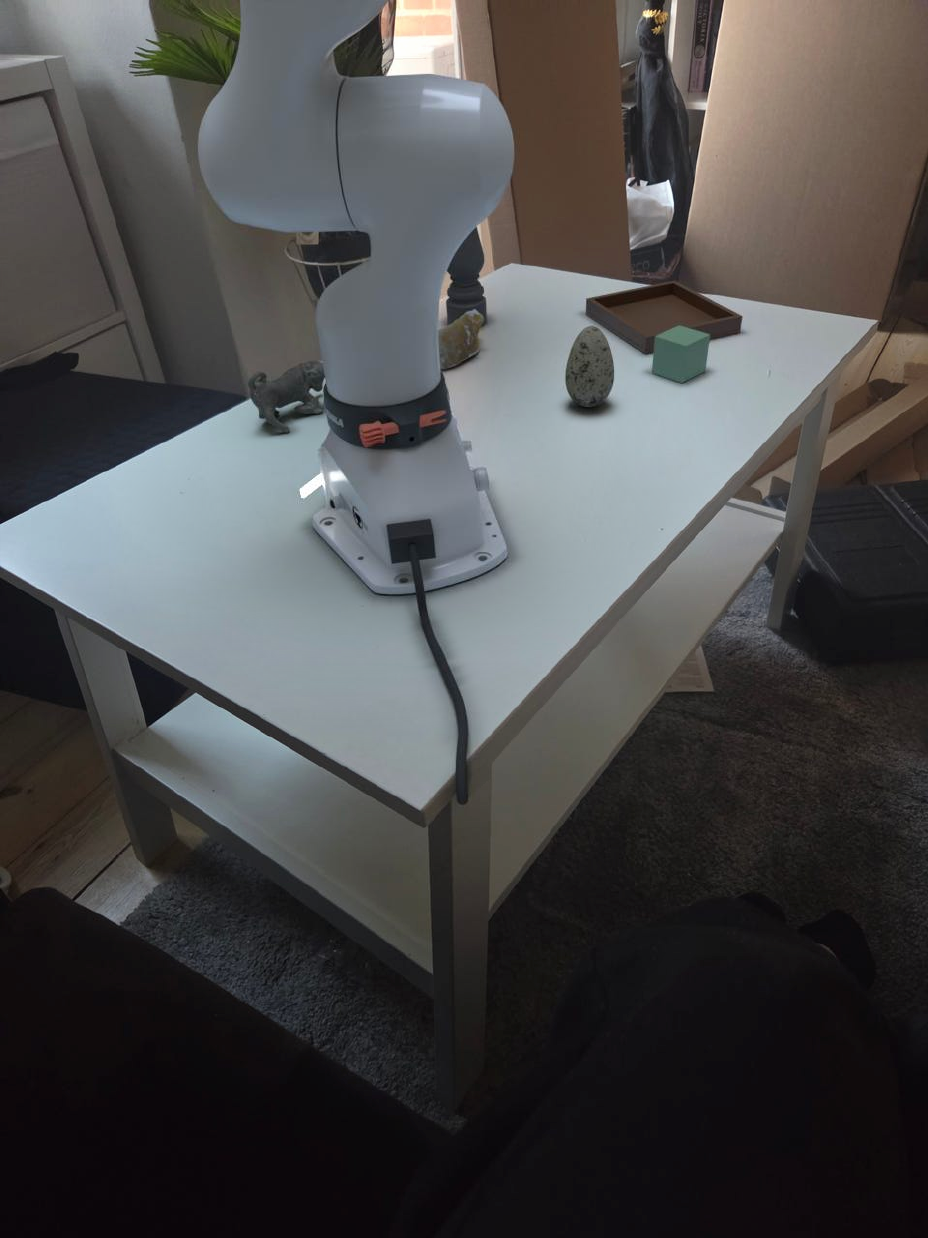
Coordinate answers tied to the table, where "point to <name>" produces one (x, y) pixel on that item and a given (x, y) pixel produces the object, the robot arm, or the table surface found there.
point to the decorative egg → (590, 368)
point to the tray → (660, 313)
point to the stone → (459, 339)
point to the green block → (680, 353)
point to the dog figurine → (287, 391)
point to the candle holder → (466, 280)
